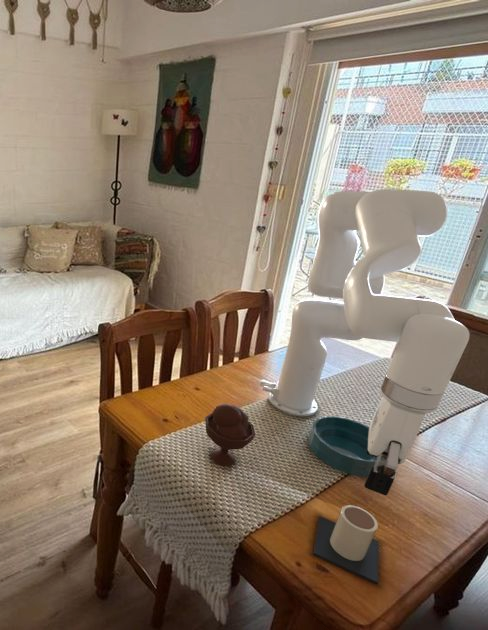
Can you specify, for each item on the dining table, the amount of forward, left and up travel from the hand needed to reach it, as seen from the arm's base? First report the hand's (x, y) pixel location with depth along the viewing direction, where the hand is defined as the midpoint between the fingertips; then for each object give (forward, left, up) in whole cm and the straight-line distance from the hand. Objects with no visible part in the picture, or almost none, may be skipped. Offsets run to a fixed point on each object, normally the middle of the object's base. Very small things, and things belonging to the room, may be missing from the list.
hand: (375, 472), depth 76 cm
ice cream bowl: (-26, +9, -17) cm, 33 cm away
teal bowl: (-2, +28, -17) cm, 33 cm away
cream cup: (0, -2, -17) cm, 17 cm away
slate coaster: (0, -2, -17) cm, 17 cm away
